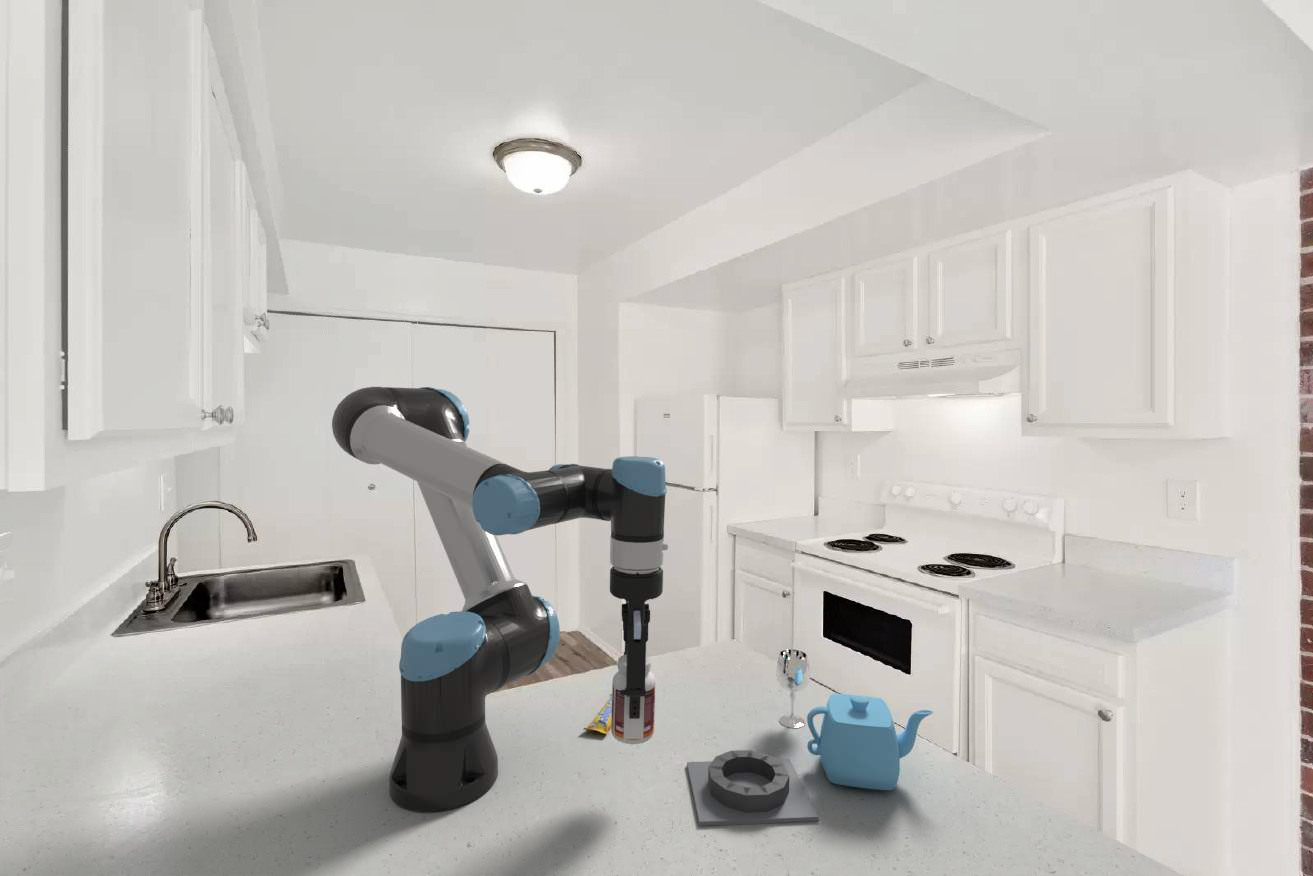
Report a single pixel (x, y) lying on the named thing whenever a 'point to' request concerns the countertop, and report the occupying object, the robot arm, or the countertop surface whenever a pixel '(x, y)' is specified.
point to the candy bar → (602, 719)
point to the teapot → (861, 741)
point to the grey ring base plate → (748, 790)
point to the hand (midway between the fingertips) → (632, 724)
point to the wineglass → (792, 680)
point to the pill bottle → (619, 699)
